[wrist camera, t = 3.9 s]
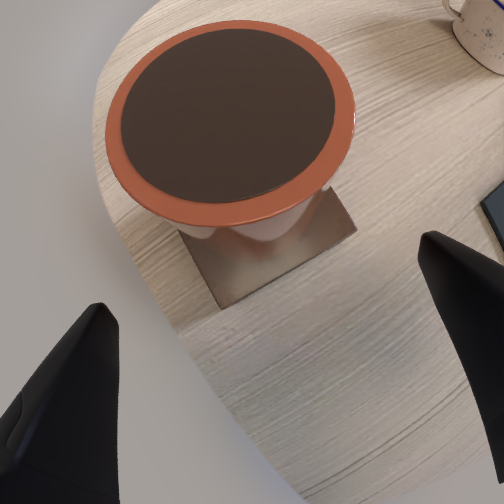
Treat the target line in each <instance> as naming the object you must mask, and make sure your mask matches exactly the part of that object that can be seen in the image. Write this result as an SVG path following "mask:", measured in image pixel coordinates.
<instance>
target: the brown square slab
mask: <svg viewBox="0 0 504 504" xmlns="http://www.w3.org/2000/svg"><path fill="white" fill-rule="evenodd" d="M357 230H358V229H357V227H356V225H355V224H354V222H353V220H352V219H351V217H350V215H349V214H348V212H347V211H346V209H345V207H344V206H343V204H342V203H341V201H340V200H339V198H338V196H337V195H336V193H335V192H334V190H333V189H332V187H331V186H330V187H329V189H328V191H327V192H326V194H325V196H324V198H323V200H322V202H321V204H320V205H319V207H318V209H317V211H316V213H315V215H314V216H313V218H312V220H311V222H310V224H309V225H308V227H307V229H306V231H305V233H304V234H303V236H302V237H301V238H300V240H299V241H298V242H297V243H296V244H295V245H294V246H293V247H292V248H291V249H289V250H288V251H287V252H285V253H284V254H282V255H280V256H278V257H276V258H274V259H271V260H267V261H263V262H257V263H246V262H238V261H234V260H231V259H228V258H226V257H223V256H222V255H220V254H218V253H216V252H215V251H213V250H211V249H210V248H208V247H207V246H205V245H203V244H202V243H200V242H198V241H197V240H195V239H194V238H192V237H190V236H189V235H187V234H185V233H184V232H182V231H181V230H179V229H178V231H179V233H180V235H181V237H182V239H183V241H184V243H185V245H186V247H187V249H188V251H189V252H190V254H191V256H192V258H193V260H194V262H195V264H196V266H197V267H198V269H199V271H200V273H201V275H202V277H203V278H204V280H205V282H206V284H207V286H208V288H209V289H210V291H211V293H212V295H213V297H214V298H215V300H216V302H217V304H218V305H219V307H220V309H221V310H224V309H226V308H228V307H231V306H233V305H235V304H237V303H238V302H240V301H242V300H244V299H245V298H247V297H248V296H249V295H251V294H253V293H254V292H256V291H258V290H259V289H261V288H263V287H265V286H266V285H268V284H270V283H272V282H273V281H275V280H277V279H279V278H280V277H282V276H284V275H285V274H287V273H289V272H290V271H292V270H294V269H296V268H297V267H299V266H301V265H302V264H304V263H306V262H307V261H309V260H311V259H312V258H314V257H316V256H317V255H319V254H321V253H322V252H324V251H326V250H329V249H331V248H332V247H334V246H335V245H337V244H339V243H340V242H342V241H343V240H345V239H346V238H348V237H349V236H351V235H352V234H353V233H355V232H356V231H357Z"/></svg>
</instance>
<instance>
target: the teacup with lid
mask: <svg viewBox="0 0 504 504" xmlns="http://www.w3.org/2000/svg"><path fill="white" fill-rule="evenodd" d="M442 3H443V6H444V8H445V10H446V11H447V12H448V13H449V14H450V15H451V16H452V17H453V18H455V20H454V22H453V31H454V33H455V35H456V37H457V39H458V40H459V42H460V43H461V44H462V46H463V47H464V48H465V49H466V50H467V51H468V52H469V53H470V54H471V55H472V56H473V57H474V58H475V59H476V60H477V61H478V62H480V63H481V64H482V65H484V66H485V67H487V68H488V69H490V70H492V71H494V72H496V73H498V74H502V75H504V0H466V1H465V2H464V4H463V6H462V8H461V9H460V11H459V12H457V11H455V10H453V9H452V8H451V7H450V6H449V0H442Z"/></svg>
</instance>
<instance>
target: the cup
mask: <svg viewBox="0 0 504 504" xmlns="http://www.w3.org/2000/svg"><path fill="white" fill-rule="evenodd" d="M355 121H356V113H355V102H354V97H353V93H352V90H351V87H350V85H349V82H348V80H347V78H346V76H345V74H344V72H343V71H342V69H341V67H340V66H339V65H338V64H337V62H336V61H335V60H334V59H333V57H332V56H331V55H330V54H329V53H328V52H326V51H325V50H324V49H323V48H322V47H321V46H319V45H318V44H317V43H315V42H314V41H313V40H311V39H309V38H308V37H306V36H304V35H302V34H300V33H298V32H296V31H293V30H291V29H289V28H286V27H282V26H279V25H276V24H271V23H266V22H260V21H250V20H232V21H222V22H216V23H211V24H206V25H202V26H199V27H195V28H192V29H190V30H187V31H185V32H182V33H180V34H178V35H176V36H174V37H172V38H170V39H168V40H166V41H165V42H163V43H162V44H160V45H158V46H157V47H155V48H154V49H153V50H152V51H150V52H149V53H148V54H146V55H145V56H144V57H143V58H142V59H141V60H140V61H139V62H138V63H137V64H136V65H135V66H134V67H133V68H132V70H131V71H130V72H129V73H128V74H127V76H126V77H125V78H124V80H123V82H122V83H121V85H120V86H119V88H118V90H117V92H116V94H115V96H114V98H113V100H112V103H111V106H110V109H109V112H108V117H107V121H106V131H105V141H106V151H107V155H108V159H109V163H110V165H111V168H112V170H113V172H114V175H115V177H116V178H117V180H118V181H119V183H120V184H121V186H122V188H123V189H124V190H125V191H126V192H127V193H128V194H129V195H130V196H131V197H132V198H133V199H134V200H135V201H136V202H138V203H139V204H140V205H141V206H143V207H144V208H145V209H147V210H149V211H150V212H152V213H153V214H155V215H157V216H158V217H160V218H161V219H163V220H165V221H166V222H168V223H169V224H171V225H173V226H174V227H176V228H177V229H179V230H181V231H182V232H184V233H185V234H187V235H189V236H190V237H192V238H194V239H195V240H197V241H198V242H200V243H202V244H203V245H205V246H207V247H208V248H210V249H211V250H213V251H215V252H216V253H218V254H220V255H222V256H223V257H226V258H228V259H231V260H234V261H238V262H246V263H257V262H263V261H267V260H271V259H274V258H276V257H278V256H280V255H282V254H284V253H285V252H287V251H288V250H289V249H291V248H292V247H293V246H294V245H295V244H296V243H297V242H298V241H299V240H300V238H301V237H302V236H303V234H304V233H305V231H306V229H307V227H308V225H309V224H310V222H311V220H312V218H313V216H314V215H315V213H316V211H317V209H318V207H319V205H320V204H321V202H322V200H323V198H324V196H325V194H326V192H327V191H328V189H329V187H330V185H331V183H332V181H333V179H334V177H335V176H336V174H337V172H338V170H339V168H340V166H341V164H342V162H343V160H344V158H345V156H346V154H347V152H348V150H349V148H350V145H351V142H352V138H353V135H354V129H355Z"/></svg>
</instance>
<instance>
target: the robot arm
mask: <svg viewBox="0 0 504 504" xmlns="http://www.w3.org/2000/svg"><path fill="white" fill-rule="evenodd" d="M418 263H419V266H420V268H421V270H422V273H423V275H424V278H425V280H426V283H427V285H428V288H429V290H430V293H431V295H432V298H433V300H434V303H435V305H436V308H437V310H438V312H439V314H440V316H441V318H442V321H443V323H444V325H445V327H446V329H447V331H448V333H449V336H450V338H451V340H452V342H453V344H454V347H455V349H456V351H457V354H458V356H459V358H460V361H461V363H462V366H463V368H464V371H465V373H466V376H467V378H468V381H469V383H470V386H471V389H472V392H473V394H474V397H475V400H476V403H477V406H478V409H479V412H480V415H481V418H482V421H483V424H484V427H485V431H486V435H487V438H488V442H489V445H490V449H491V453H492V457H493V461H494V465H495V469H496V473H497V478H498V481H499V484H501V483H503V482H504V266H503V265H501V264H499V263H497V262H496V261H494V260H492V259H490V258H488V257H486V256H485V255H483V254H481V253H479V252H477V251H475V250H473V249H471V248H470V247H468V246H466V245H464V244H462V243H460V242H458V241H456V240H454V239H452V238H450V237H448V236H446V235H444V234H442V233H440V232H438V231H429V232H425V233H423V234H422V236H421V240H420V246H419V252H418ZM118 393H119V325H118V322H117V320H116V319H115V317H114V316H113V314H112V313H111V312H110V310H109V309H108V307H107V306H106V305H105V304H104V303H101V302H100V303H95V304H91V305H90V306H89V307H88V308H87V309H86V310H85V311H84V312H83V314H82V315H81V316H80V317H79V318H78V319H77V320H76V322H75V323H74V324H73V325H72V326H71V327H70V329H69V330H68V331H67V332H66V333H65V335H64V336H63V337H62V338H61V340H60V341H59V342H58V343H57V344H56V346H55V347H54V348H53V349H52V351H51V352H50V353H49V354H48V356H47V357H46V358H45V359H44V361H43V362H42V363H41V364H40V366H39V367H38V368H37V370H36V371H35V372H34V374H33V375H32V376H31V377H30V379H29V380H28V382H27V383H26V384H25V385H24V387H23V388H22V390H21V391H20V392H19V394H18V395H17V396H16V398H15V399H14V401H13V402H12V403H11V405H10V406H9V407H8V409H7V410H6V411H5V413H4V414H3V415H2V417H1V418H0V504H120V500H119V485H118V462H117V461H118V459H117V419H118Z"/></svg>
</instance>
